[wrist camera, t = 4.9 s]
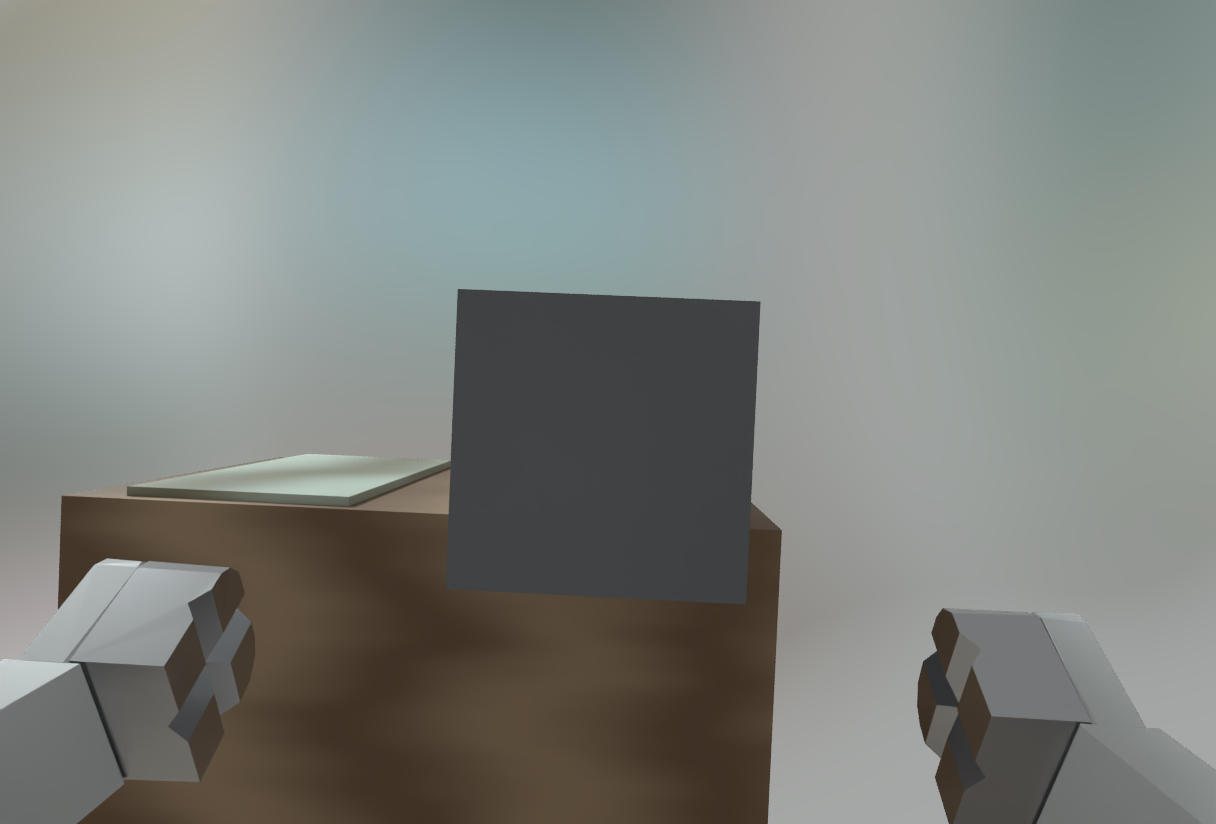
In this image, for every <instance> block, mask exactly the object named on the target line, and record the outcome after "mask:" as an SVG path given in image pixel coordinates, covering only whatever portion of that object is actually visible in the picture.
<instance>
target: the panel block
mask: <svg viewBox="0 0 1216 824" xmlns="http://www.w3.org/2000/svg"><path fill="white" fill-rule="evenodd" d="M450 468H451V461H450V460H427V459H406V458H385V457H364V456H341V455H321V454H305V455H298V456H293V457H287V458H283V457H279V458H274V459H268V460H263V461H257V462H251V463H246V464H240V465H234V466H228V467H222V468H217V469H211V470H205V471H199V472H194V473H189V474H183V475H177V476H171V477H165V478H159V479H154V480H148V481H142V482H137V483H131V484H125V485H120V486H114V487H108V488H103V489H97V490H91V491H85V492H80V493H74V494H68V495H63V496H62V504H61V534H60V563H59V593H58V609H59V608H60V607H61V606H62V604H63V603H64V602H65V601H66V599H67V598H68V597H69V596H70V594H71V593H72V592H73V591H74V589H75V588H76V587H77V586H78V584H79V583H80V582H81V581H82V579H83V578H84V577H85V576H86V574H87V573H88V572H89V571H90V569H91V568H92V567H93V566H94V565H95V564H97V563H99V562H101V561H103V560H105V559H107V558H108V559H119V560H131V561H142V562H148V561H155V562H167V563H179V564H192V565H204V566H216V567H229V568H232V569H234V570H236V571H238V572H239V574H240V577H241V581H242V584H243V588H244V592H245V595H244V596H243V598H242V600H241V602H240V604H239V605H238V607H237V609H238V610H239V611H240V612H241V613H243V614H244V615H245V616H246V617H247V618H248V619H249V620H250V621H251V622H252V626H253V631H254V635H255V660H254V664H253V669H252V673H251V678H250V682H249V684H248V686H247V688H246V690H245V692H244V695H243V697H242V699H241V701H240V702H239V703H238V704H236V705H235V706H233V707H232V708H231V709H229V710H228V711H226V712H225V713H223V714H222V715H221V716H220V718H221V721H222V725H223V729H224V735H223V737H222V739H221V741H220V743H219V745H218V747H217V749H216V751H215V753H214V755H213V757H212V759H211V761H210V763H209V765H208V767H207V769H206V771H205V773H204V775H203V777H202V779H201V781H200V782H182V781H154V780H126V779H123V780H124V785H122V786H121V787H120V788H119V789H118V790H116V791H115V792H114V793H113V794H112V795H110V796H109V797H108V798H107V799H106V800H104V801H103V802H102V803H101V804H100V805H99V806H97V807H96V808H95V809H94V810H93V811H91V812H90V813H89V814H88V815H87V816H85V817H84V818H83V819H82V820H81V821H79V822H78V823H77V824H768V805H769V804H768V803H769V783H770V763H771V743H772V722H773V701H774V700H773V699H774V681H775V680H774V679H775V659H776V639H777V617H778V597H779V576H780V575H779V574H780V556H781V535H782V530H781V529H780V528H778V526H776V525H775V524H774V523H773V522H772V521H771V520H770V519H769V518H768V517H767V516H765V515H764V514H763V513H762V512H761V511H760V510H759V509H758V508H757V507H756V506H755V505H753V504H752V503H751V510H750V531H749V552H748V573H747V594H746V604H728V603H708V602H689V601H669V600H649V599H629V598H609V597H590V596H570V595H550V594H530V593H510V592H491V591H471V590H451V589H446V565H447V541H448V517H449V492H450Z"/></svg>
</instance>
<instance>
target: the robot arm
mask: <svg viewBox="0 0 1216 824" xmlns="http://www.w3.org/2000/svg"><path fill="white" fill-rule="evenodd" d="M244 595H245V592H244V588H243V584H242V581H241V577H240V574H239V572H238V571H236V570H234V569H232V568H229V567H216V566H204V565H192V564H179V563H167V562H155V561H148V562H142V561H131V560H119V559H108V558H107V559H105V560H103V561H101V562H99V563H97V564H95V565H94V566H93V567H92V568H91V569H90V571H89V572H88V573H87V574H86V576H85V577H84V578H83V579H82V581H81V582H80V583H79V584H78V586H77V587H76V588H75V589H74V591H73V592H72V593H71V594H70V596H69V597H68V598H67V599H66V601H65V602H64V603H63V604H62V606H61V607H60V608H59V609H58V611H57V612H56V613H55V614H54V616H53V617H52V618H51V619H50V621H49V622H48V623H47V624H46V626H45V627H44V628H43V629H42V631H41V632H40V633H39V634H38V636H37V637H36V638H35V639H34V641H33V642H32V643H31V644H30V646H29V647H28V648H27V649H26V651H25V652H24V653H23V654H22V656H21V657H20V658H19V659H18V660H13V659H4V660H2V661H0V824H77V823H78V822H79V821H81V820H82V819H83V818H84V817H85V816H87V815H88V814H89V813H90V812H91V811H93V810H94V809H95V808H96V807H97V806H99V805H100V804H101V803H102V802H103V801H104V800H106V799H107V798H108V797H109V796H110V795H112V794H113V793H114V792H115V791H116V790H118V789H119V788H120V787H121V786H122V785H124V780H123V779H126V780H154V781H182V782H200V781H201V779H202V777H203V775H204V773H205V771H206V769H207V767H208V765H209V763H210V761H211V759H212V757H213V755H214V753H215V751H216V749H217V747H218V745H219V743H220V741H221V739H222V737H223V735H224V729H223V725H222V721H221V718H220V716H221V715H222V714H223V713H225V712H226V711H228V710H229V709H231V708H232V707H233V706H235V705H236V704H238V703H239V702H240V701H241V699H242V697H243V695H244V692H245V690H246V688H247V686H248V684H249V682H250V678H251V673H252V669H253V664H254V660H255V635H254V631H253V626H252V622H251V621H250V620H249V619H248V618H247V617H246V616H245V615H244V614H243V613H241V612H240V611H239V610H238V609H237V607H238V605H239V604H240V602H241V600H242V598H243V596H244ZM932 636H933V639H934V642H935V645H936V649H937V651H936V652H935V653H934V654H933V655H931V656H930V657H929V658H927V659H926V660H924V661H923V665H922V669H921V673H920V677H919V681H918V700H917V707H918V714H919V722H920V727H921V730H922V734H923V737H924V741H925V744H926V745H927V746H928V747H929V748H930V749H931V750H933V751H934V752H935V753H936V754H937V755H938V756H939V757H940V758H941V760H940V763H939V766H938V770H937V773H936V776H935V779H936V782H937V786H938V789H939V792H940V796H941V799H942V802H943V805H944V809H945V812H946V815H947V819H948V822H949V824H1216V770H1215V769H1214V768H1212V767H1211V766H1210V765H1209V764H1207V763H1206V762H1204V761H1203V760H1202V759H1200V758H1199V757H1198V756H1196V755H1195V754H1193V753H1192V752H1191V751H1190V750H1188V749H1187V748H1185V747H1184V746H1183V745H1181V744H1180V743H1179V742H1177V741H1176V740H1175V739H1173V738H1171V737H1170V736H1169V735H1168V734H1166V733H1165V732H1163V731H1162V730H1161V729H1156V728H1146V727H1145V725H1144V723H1143V722H1142V720H1141V718H1140V716H1139V714H1138V712H1137V711H1136V709H1135V707H1134V705H1133V704H1132V702H1131V700H1130V698H1129V697H1128V695H1127V693H1126V691H1125V689H1124V688H1123V686H1122V684H1121V682H1120V680H1119V679H1118V677H1117V675H1116V673H1115V672H1114V670H1113V668H1112V666H1111V665H1110V662H1109V661H1108V659H1107V657H1106V655H1105V654H1104V652H1103V650H1102V648H1101V647H1100V645H1099V643H1098V641H1097V639H1096V637H1095V636H1094V634H1093V632H1092V630H1091V629H1090V627H1089V625H1088V623H1087V622H1086V620H1085V619H1084V618H1082V617H1081V616H1080V615H1078V614H1069V613H1045V612H1044V613H1043V612H1032V613H1027V612H1011V611H989V610H969V609H949V608H943V609H942V610H941V612H940V613H939V614H938V616H937V617H936V620H935V623H934V627H933V630H932Z"/></svg>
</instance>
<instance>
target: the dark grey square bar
mask: <svg viewBox="0 0 1216 824" xmlns="http://www.w3.org/2000/svg"><path fill="white" fill-rule="evenodd" d="M759 319H760V302H756V301H732V300H708V299H707V300H706V299H684V298H660V297H635V296H612V295H588V294H564V293H563V294H561V293H540V292H539V293H538V292H515V291H490V290H466V289H458V299H457V324H456V349H455V371H454V395H453V396H454V397H453V398H454V399H453V420H452V444H451V468H450V492H449V517H448V541H447V565H446V589H451V590H471V591H491V592H510V593H530V594H550V595H570V596H590V597H609V598H629V599H649V600H669V601H689V602H708V603H728V604H746V594H747V573H748V552H749V531H750V510H751V489H752V488H751V487H752V468H753V447H754V424H755V404H756V383H757V362H758V342H759Z"/></svg>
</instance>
